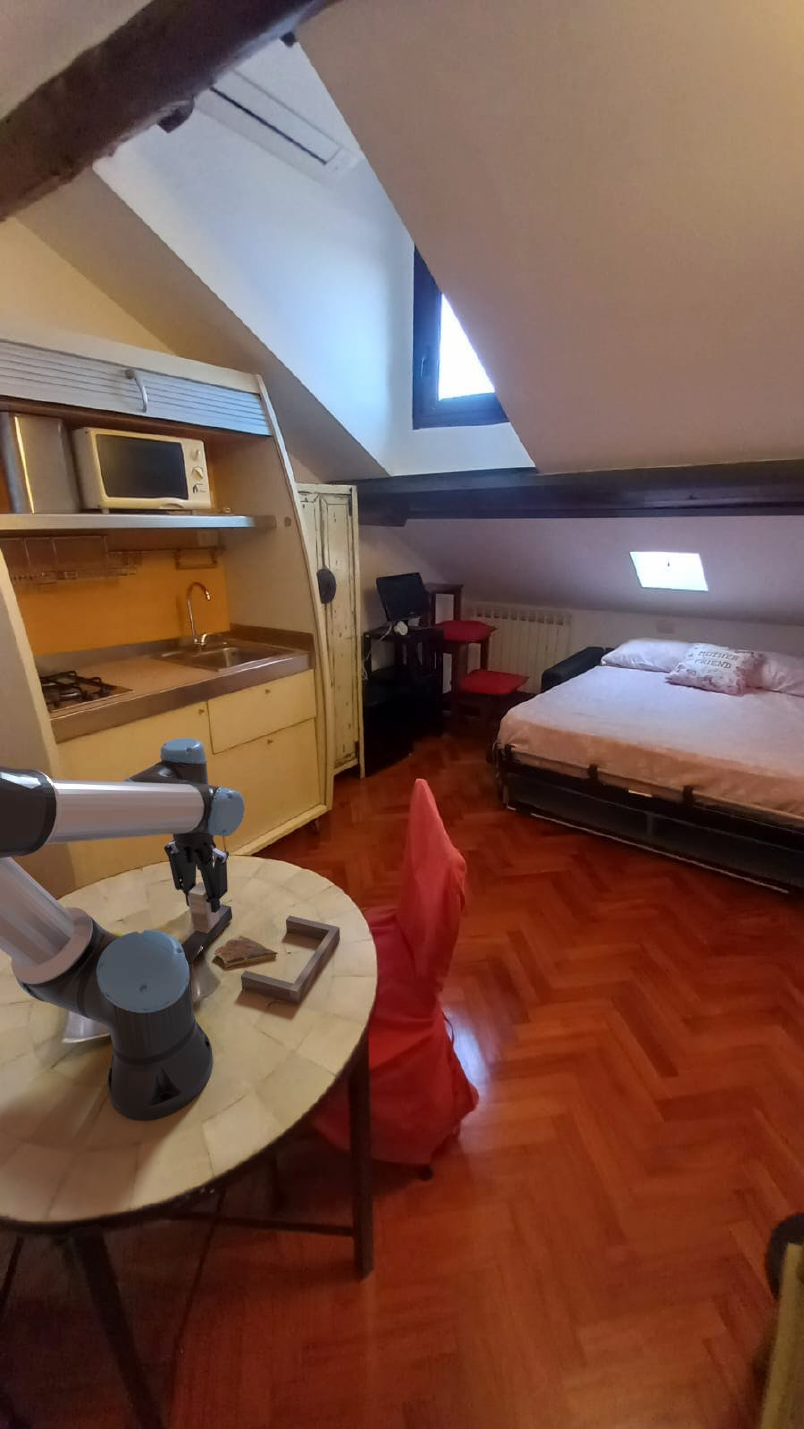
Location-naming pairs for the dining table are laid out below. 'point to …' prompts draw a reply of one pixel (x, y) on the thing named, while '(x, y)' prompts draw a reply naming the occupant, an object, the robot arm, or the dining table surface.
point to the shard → (243, 951)
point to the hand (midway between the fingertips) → (205, 921)
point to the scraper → (203, 923)
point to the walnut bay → (310, 971)
